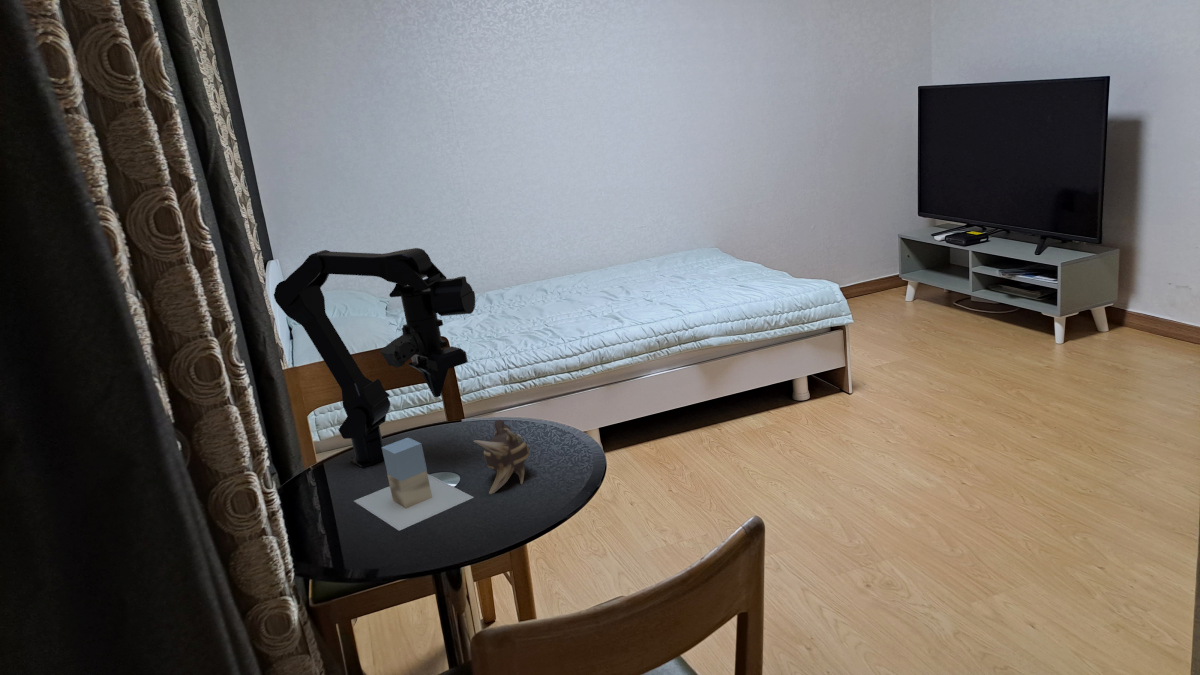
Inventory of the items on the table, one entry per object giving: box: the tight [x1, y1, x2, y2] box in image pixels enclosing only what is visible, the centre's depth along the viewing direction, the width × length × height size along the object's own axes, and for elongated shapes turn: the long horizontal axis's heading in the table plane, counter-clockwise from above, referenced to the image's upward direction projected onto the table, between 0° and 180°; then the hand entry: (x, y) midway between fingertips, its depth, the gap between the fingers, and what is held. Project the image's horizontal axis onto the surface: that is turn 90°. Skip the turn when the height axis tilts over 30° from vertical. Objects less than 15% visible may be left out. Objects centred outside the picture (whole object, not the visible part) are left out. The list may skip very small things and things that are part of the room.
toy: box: [473, 419, 530, 495], centre depth 148 cm, size 11×8×15 cm
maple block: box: [386, 470, 432, 508], centre depth 144 cm, size 5×5×5 cm
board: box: [353, 473, 474, 532], centre depth 145 cm, size 18×14×1 cm
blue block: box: [382, 437, 428, 481], centre depth 143 cm, size 5×5×5 cm
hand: (437, 396), depth 159 cm, fingers closed
